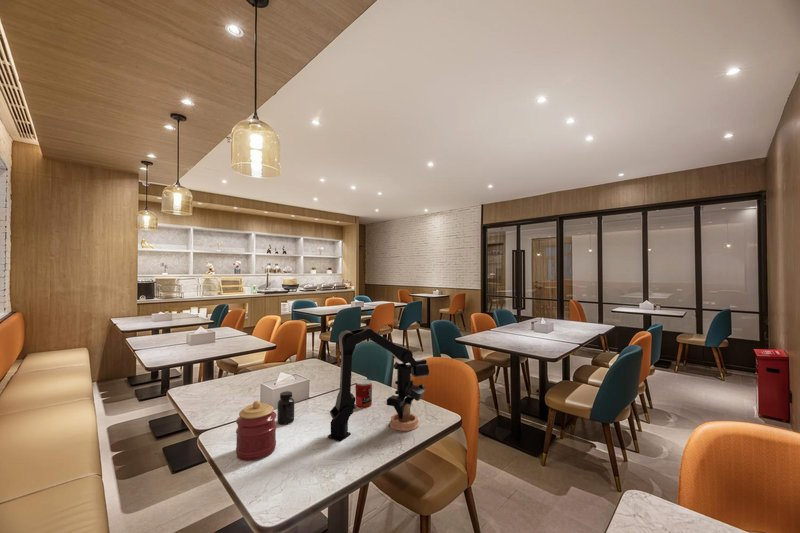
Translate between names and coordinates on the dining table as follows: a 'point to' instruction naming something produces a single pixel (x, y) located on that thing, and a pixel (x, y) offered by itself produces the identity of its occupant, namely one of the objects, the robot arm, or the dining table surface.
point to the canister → (256, 432)
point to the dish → (404, 423)
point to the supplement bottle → (285, 408)
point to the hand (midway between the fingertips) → (404, 416)
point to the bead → (405, 414)
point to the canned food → (363, 393)
